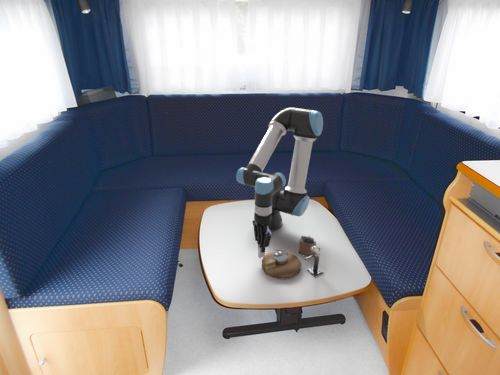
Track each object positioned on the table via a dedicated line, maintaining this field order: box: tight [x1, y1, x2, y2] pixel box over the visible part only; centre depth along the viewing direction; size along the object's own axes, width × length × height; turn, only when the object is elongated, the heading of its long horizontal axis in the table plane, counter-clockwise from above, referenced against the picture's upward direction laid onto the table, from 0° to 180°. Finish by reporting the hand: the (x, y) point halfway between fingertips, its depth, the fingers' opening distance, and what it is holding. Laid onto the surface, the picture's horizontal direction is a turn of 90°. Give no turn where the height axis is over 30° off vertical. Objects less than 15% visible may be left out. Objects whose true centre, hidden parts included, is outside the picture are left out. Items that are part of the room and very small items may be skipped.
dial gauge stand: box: [304, 245, 324, 278], centre depth 154 cm, size 5×8×14 cm, turn 123°
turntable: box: [261, 250, 302, 280], centre depth 159 cm, size 18×18×5 cm
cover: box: [272, 248, 289, 266], centre depth 159 cm, size 7×7×5 cm
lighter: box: [297, 235, 317, 257], centre depth 167 cm, size 8×3×10 cm, turn 71°
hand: (261, 256), depth 161 cm, fingers closed
